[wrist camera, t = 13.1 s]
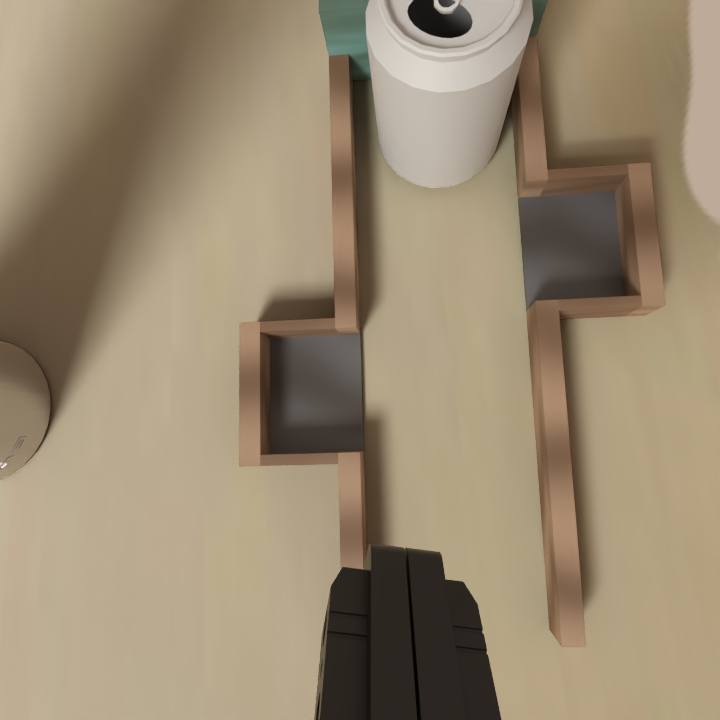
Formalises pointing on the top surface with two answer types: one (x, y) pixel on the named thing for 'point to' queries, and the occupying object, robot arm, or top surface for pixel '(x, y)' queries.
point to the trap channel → (543, 306)
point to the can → (443, 82)
